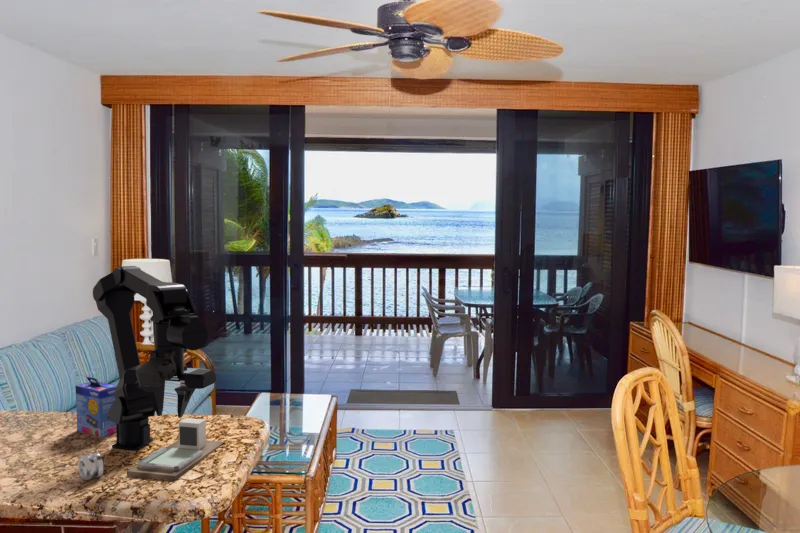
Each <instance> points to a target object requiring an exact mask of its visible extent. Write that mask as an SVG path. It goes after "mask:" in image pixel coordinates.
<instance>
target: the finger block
mask: <svg viewBox="0 0 800 533" xmlns="http://www.w3.org/2000/svg"><path fill="white" fill-rule="evenodd" d="M206 420H207V419H202V418H201V419H200V418H190V417H185V418H183V419H182V420H180V421H178V440H179V448H183V449H193V450H200V449H201V448H203V447H204V446H206V440H207V421H206Z"/></svg>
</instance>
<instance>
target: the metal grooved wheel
mask: <svg viewBox="0 0 800 533" xmlns="http://www.w3.org/2000/svg"><path fill="white" fill-rule="evenodd" d="M77 466H78V473H79V475H80V478H82V480H83V481H90V480H92V478H94V479H96V478H97V479H98V478H100V477H102V476H103V473H104V462H103V458H102V456H101V454H100V453H99V452H97V451H95V452H91V453H89V454H84V455H82V456H80V458H79V459H78V465H77Z"/></svg>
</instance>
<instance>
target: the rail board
mask: <svg viewBox="0 0 800 533" xmlns="http://www.w3.org/2000/svg"><path fill="white" fill-rule="evenodd" d="M223 443H224V444H225V441H218V440H216V441H215V440H207V439H206V446H204V447H203V448H201V449H200V450H202V456H200V457H199V458H197V459H196V460H194V461H193V462H191V463H190V464H189V465H187V466H186V467H184V468H183V469H181V470H180V471H174V472H170V471H160V470H150V469H141V468H139V467H138V464H136V465H134V466H133V467H131V468H130V469H127V470H126V477H134V478H145V479H155V480H163V481H164V480H166V481H177V480H179V479H180V478H181V477H182V476H184V475H185V474H186V473H187V472H189V471H190V470H191V469H193V467H196V465H199V463H200V462H202V461H203V460H204V459H205V458H207V457H208V456H209V454H210V455H211V454H212V453H213V452H215V451H216V450H217V449H219V448H220V447H222V444H223ZM224 444H223V445H224ZM219 446H220V447H219ZM165 447H166V452H165V453H163V454H162V455H160V456H158V457H157V458H155V459H153V460H152V461H150V462H148V463H155V464H165V465H175V466H176V465H178V464H179V463H181V462H182V461H184V460H185V459H187V458H188V457H190V456H191V455H193V454H194V453H196V452H197V451H199V450H193V449H183V448H179V439H178V440H176V441H175V442H173V443H172V444H171V443H170V445H168V446H165ZM218 447H219V448H218ZM214 450H215V451H214Z"/></svg>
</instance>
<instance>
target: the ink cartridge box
mask: <svg viewBox="0 0 800 533" xmlns="http://www.w3.org/2000/svg"><path fill="white" fill-rule="evenodd" d="M86 379H87V380H88V382H84V383H79V384H76V385H75V405H76V406H75V409H76V411H75V412H76V429H77V432H80V433H84V434H86V435H87V434H88V435H91V436H95V437H98V438H104V437H107V436H110V435H113V434H116V423H114V422H112V421H110V419H109V413H108V411H109V409H110V408H111V406H112V404H113V402H114V401H115V390H116V387H117V385H115V384H111V383H104V382H103V381H102V382H101V381H99V380H98V379H97V378H96V377H91V376H86Z"/></svg>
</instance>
